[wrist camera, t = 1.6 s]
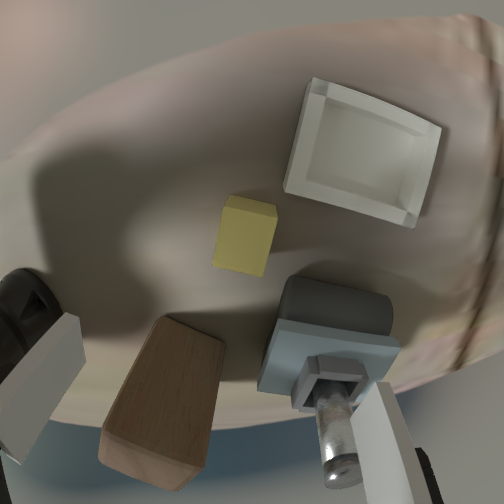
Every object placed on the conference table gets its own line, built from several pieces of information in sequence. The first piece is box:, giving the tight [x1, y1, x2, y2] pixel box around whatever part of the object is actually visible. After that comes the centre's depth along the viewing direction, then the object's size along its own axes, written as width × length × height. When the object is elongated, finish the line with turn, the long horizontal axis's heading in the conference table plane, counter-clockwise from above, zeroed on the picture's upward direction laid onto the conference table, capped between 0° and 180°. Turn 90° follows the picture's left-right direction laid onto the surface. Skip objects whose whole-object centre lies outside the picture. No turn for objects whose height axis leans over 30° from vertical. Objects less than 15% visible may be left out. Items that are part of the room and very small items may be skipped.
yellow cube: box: [212, 195, 278, 277], centre depth 30 cm, size 5×6×6 cm
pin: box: [312, 378, 363, 489], centre depth 23 cm, size 4×4×13 cm
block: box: [98, 316, 225, 491], centre depth 31 cm, size 10×10×20 cm
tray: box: [282, 77, 442, 229], centre depth 28 cm, size 15×12×4 cm
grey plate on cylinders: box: [257, 275, 401, 413], centre depth 32 cm, size 14×15×12 cm
